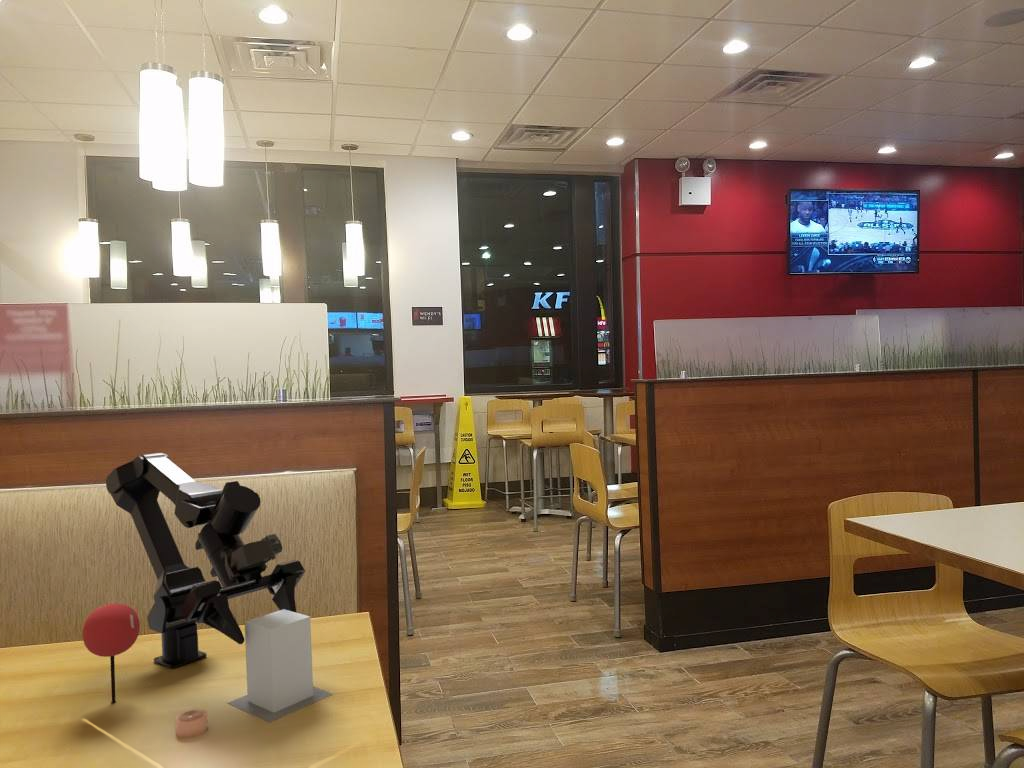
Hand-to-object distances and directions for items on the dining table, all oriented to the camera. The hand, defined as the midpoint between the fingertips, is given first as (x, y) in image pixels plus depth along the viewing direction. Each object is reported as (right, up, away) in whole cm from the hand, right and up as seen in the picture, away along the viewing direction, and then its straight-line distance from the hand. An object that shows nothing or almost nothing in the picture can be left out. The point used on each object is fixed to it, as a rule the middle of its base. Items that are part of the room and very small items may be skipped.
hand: (269, 633), depth 111 cm
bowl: (-7, -10, -11) cm, 16 cm away
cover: (+2, -9, -1) cm, 10 cm away
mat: (+2, -10, -1) cm, 10 cm away
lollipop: (-24, -11, 0) cm, 26 cm away
